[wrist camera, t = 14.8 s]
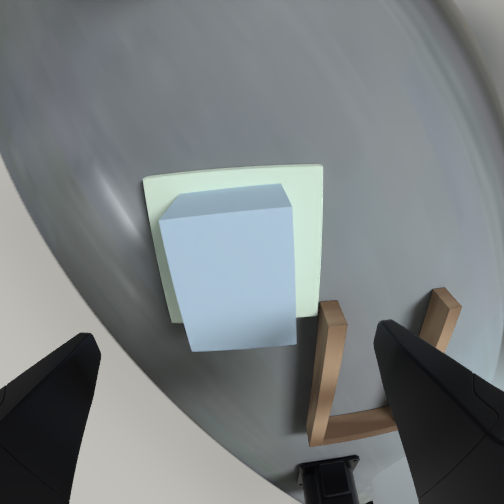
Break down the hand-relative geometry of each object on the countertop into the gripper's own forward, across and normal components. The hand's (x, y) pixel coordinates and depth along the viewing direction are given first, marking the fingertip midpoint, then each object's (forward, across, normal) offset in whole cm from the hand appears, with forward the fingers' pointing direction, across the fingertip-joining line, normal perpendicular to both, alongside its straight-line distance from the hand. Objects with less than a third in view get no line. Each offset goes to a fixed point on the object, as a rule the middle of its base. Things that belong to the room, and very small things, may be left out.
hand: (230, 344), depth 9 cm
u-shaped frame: (+7, -8, +10) cm, 15 cm away
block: (+6, 0, 0) cm, 6 cm away
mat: (+7, 0, 0) cm, 7 cm away
